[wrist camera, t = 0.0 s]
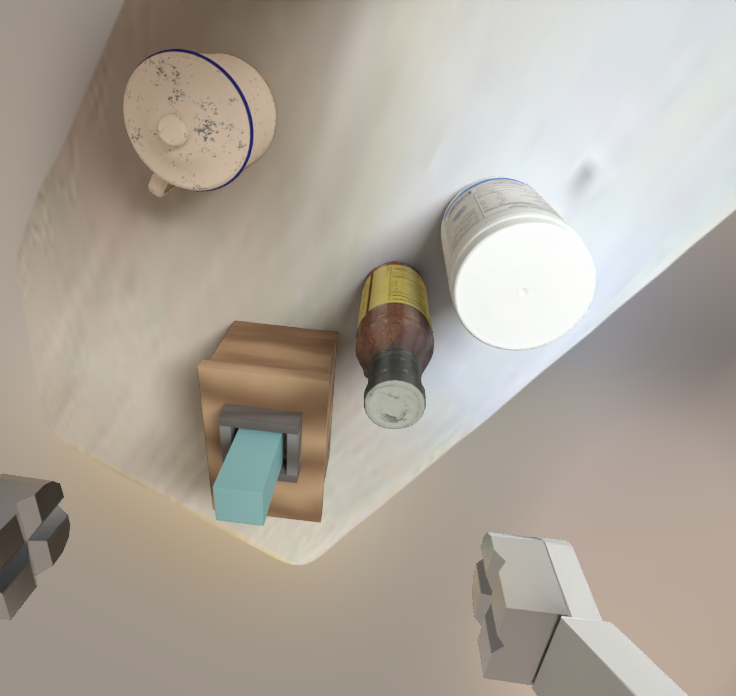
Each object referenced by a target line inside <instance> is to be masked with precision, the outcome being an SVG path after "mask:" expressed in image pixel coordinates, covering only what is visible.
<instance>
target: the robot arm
mask: <svg viewBox="0 0 736 696" xmlns="http://www.w3.org/2000/svg"><path fill="white" fill-rule="evenodd" d="M63 498H64V495H63V491H62V488H61V485H60V483H57V482H54V481H49V480H42V479H35V478H29V477H22V476H15V475H8V474H0V619H6V620H11V619H12V618H13V617H14V615H15V614H16V613H17V611H18V610H19V609H20V608H21V606H22V605H23V604H24V602H25V601H26V600H27V599H28V597H29V596H30V595H31V593H32V592H33V591H34V590H35V588H36V587H37V575H38V574H39V573H41V572H43V571H45V570H46V569H48V568H50V567H52V566H53V565H54V564H55V562H56V561H57V560H58V558H59V557H60V556H61V554H62V552H63V550H64V548H65V546H66V543H67V541H68V538H69V531H70V522H69V517H68V514H67V513H66V512H65V511H64V510H63V509H62V508H61V507H60V506H59V505H58V504H59V503H60V502H61V501H62V499H63ZM481 550H482V556H483V559H482V560H481V561H479V562H478V563H477V564H476V567H475V571H474V576H473V586H472V599H473V609H474V617H475V618H476V619H477V620H478V622H479V623H480V624H481V626H482V628H481V631H480V635H479V638H478V645H479V651H480V657H481V664H482V670H483V677H484V678H488V679H494V680H501V681H507V682H514V683H521V684H527V685H533V687H532V689H533V690H534V692H535V693H536V695H537V696H688V695H687V694H686V693H685V692H684V691H683V690H682V689H680V688H679V687H678V686H677V685H676V684H675V683H674V682H673V681H672V680H671V679H670V678H669V677H668V676H667V675H666V674H665V673H664V672H663V671H662V670H661V669H660V668H659V667H657V666H656V665H655V664H654V663H653V662H652V661H651V660H650V659H649V658H648V657H647V656H646V655H645V654H644V653H643V652H642V651H641V650H640V649H639V648H638V647H636V646H635V645H634V644H633V643H632V642H631V641H630V640H629V639H628V638H627V637H626V636H625V635H624V634H623V633H622V632H621V631H620V630H619V629H618V628H617V627H616V626H615V625H614V624H612V623H611V622H605V621H602V618H601V616H600V614H599V611H598V609H597V606H596V604H595V601H594V599H593V596H592V594H591V591H590V589H589V586H588V584H587V582H586V579H585V577H584V574H583V572H582V569H581V567H580V565H579V562H578V559H577V557H576V555H575V552H574V550H573V547H572V545H571V544H570V543H569V542H568V541H565V540H556V539H546V538H537V537H527V536H518V535H509V534H500V533H491V532H487V533H486V534H485V536H484V538H483V541H482V545H481Z"/></svg>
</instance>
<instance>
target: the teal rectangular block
mask: <svg viewBox="0 0 736 696" xmlns="http://www.w3.org/2000/svg"><path fill="white" fill-rule="evenodd" d="M284 457H285V433H278V432H269V431H261V430H252V429H244V428H239V429H238V432H237V434H236V436H235V438H234V441H233V443H232V445H231V447H230V450H229V452H228V454H227V456H226V458H225V461H224V463H223V465H222V467H221V470H220V472H219V474H218V476H217V478H216V481H215V483H214V485H213V494H214V503H215V512H216V520H220V521H229V522H237V523H245V524H254V525H262V526H263V525H264V522H265V519H266V516H267V512H268V509H269V506H270V502H271V499H272V496H273V493H274V489H275V486H276V483H277V480H278V476H279V473H280V470H281V466H282V463H283V460H284Z"/></svg>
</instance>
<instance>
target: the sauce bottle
mask: <svg viewBox="0 0 736 696" xmlns="http://www.w3.org/2000/svg"><path fill="white" fill-rule="evenodd" d="M356 338H357V342H356V356H357V358H358V360H359V363H360V365H361V366H362V368H363V372H364V376H365V377H367V378H368V385H367V387H366V389H365V393H364V408H365V411H366V414H367V415H368V417H369V418H370V419H371V420H372V421H373V422H374V423H375V424H377V425H379V426H381V427H383V428H388V429H400V428H406V427H409V426H411V425H413V424H415V423H416V422H417V421H418V420H419V419H420V418H421V417H422V415H423V413H424V410H425V406H426V401H425V398H426V397H425V389H424V387H423V385H422V384H421V376H422V373H423V372H424V370H425V368H426V367H427V365H428V364H429V362H430V360H431V357H432V354H433V349H434V338H433V331H432V326H431V319H430V312H429V305H428V297H427V290H426V286H425V283H424V281H423V280H422V278H421V276H420V275H419V273H418V271H416V270H415V269H414V268H412V267H411V266H408V265H406V264H404V263H400V262H397V261H392V262H388V263H385V264H383V265H380V266H378V267H377V268H375V269H374V270H372V271H371V272H370V274H369V275H368V277H367V280H366V282H365V284H364V286H363V290H362V297H361V304H360V312H359V319H358V326H357V334H356Z"/></svg>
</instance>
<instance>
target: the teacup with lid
mask: <svg viewBox="0 0 736 696" xmlns="http://www.w3.org/2000/svg"><path fill="white" fill-rule="evenodd" d="M123 115H124V122H125V126H126V130H127V133H128V136H129V139H130V141H131V143H132V145H133V147H134V149H135V151H136V152H137V154H138V155H139V157H140V158H141V159H142V161H143V162H144V163H145V164H146V165H147V166H148V167H149V168H150V170H152V171H153V172H154V173H153V175H152V176H151V178H150V180H149V184H148V188H149V191H150V192H151V193H153V194H154V195H155V196H157V197H163V196H165V195H167V194H168V193H169V192H170V191H172V190H173V189H174V188H175V187H176V186H177V187H180V188H183V189H187V190H191V191H211V190H215V189H219V188H221V187H223V186H226V185H227V184H229V183H230V182H232V181H233V180H234V179H235V178H237V177H238V176H239V174H240V173H241V172H242V171H243V169H244V168H245V167H247V166H248V165H250V164H251V163H252V162H254V161H255V160H257V159H258V158H259V157H260V156H262V155H263V154H264V152H265V151H266V150H267V148H268V147H269V145H270V143H271V141H272V139H273V136H274V133H275V128H276V110H275V104H274V100H273V97H272V95H271V92H270V90H269V88H268V86H267V84H266V83H265V81H264V80H263V78H262V77H261V76H260V74H259V73H258V72H257V71H256V70H255V69H254V68H253V67H251V66H250V65H249V64H247V63H246V62H244V61H243V60H241V59H239V58H237V57H234V56H232V55H228V54H222V53H196V52H193V51H188V50H182V49H170V50H164V51H160V52H158V53H155V54H153V55H151V56H149V57H148V58H146V59H145V60H144V61H142V62H141V63H140V64H139V65H138V67H137V68H136V69H135V70H134V72H133V74H132V75H131V77H130V79H129V81H128V83H127V86H126V89H125V93H124V100H123Z"/></svg>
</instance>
